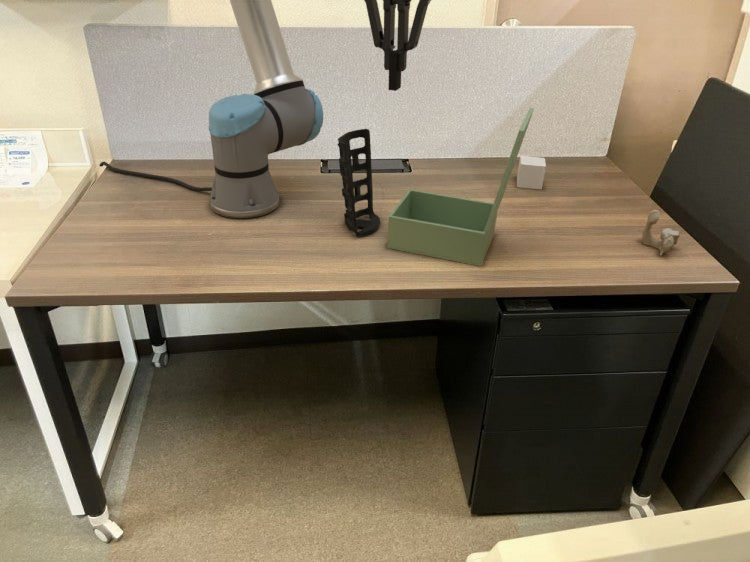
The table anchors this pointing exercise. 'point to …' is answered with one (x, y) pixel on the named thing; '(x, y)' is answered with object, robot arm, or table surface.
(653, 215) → the beige irregular piece
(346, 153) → the holder
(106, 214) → the table surface
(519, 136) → the lid
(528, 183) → the white cube
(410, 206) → the box
